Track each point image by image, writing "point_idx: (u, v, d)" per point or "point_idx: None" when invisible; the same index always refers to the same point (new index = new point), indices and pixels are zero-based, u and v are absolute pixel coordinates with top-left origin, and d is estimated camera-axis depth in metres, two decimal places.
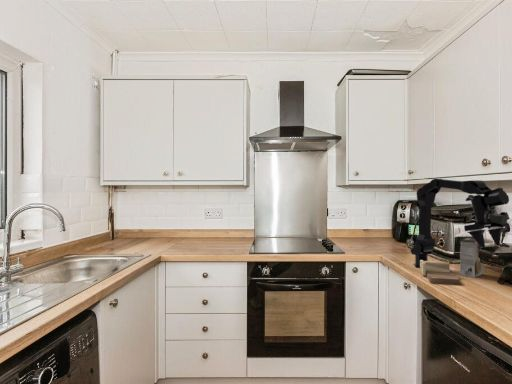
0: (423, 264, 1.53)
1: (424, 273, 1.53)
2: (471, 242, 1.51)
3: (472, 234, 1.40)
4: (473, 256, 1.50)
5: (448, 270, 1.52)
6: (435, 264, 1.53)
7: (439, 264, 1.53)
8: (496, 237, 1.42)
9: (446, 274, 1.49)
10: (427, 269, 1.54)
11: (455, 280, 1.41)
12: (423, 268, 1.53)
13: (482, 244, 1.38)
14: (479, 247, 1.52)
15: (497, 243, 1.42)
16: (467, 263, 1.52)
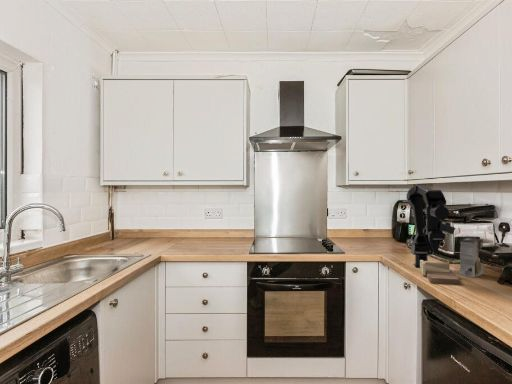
0: (423, 264, 1.53)
1: (424, 273, 1.53)
2: (471, 242, 1.51)
3: (431, 241, 1.49)
4: (473, 256, 1.50)
5: (448, 270, 1.52)
6: (435, 264, 1.53)
7: (439, 264, 1.53)
8: None
9: (446, 274, 1.49)
10: (427, 269, 1.54)
11: (455, 280, 1.41)
12: (423, 268, 1.53)
13: (435, 251, 1.50)
14: (479, 247, 1.52)
15: (431, 247, 1.59)
16: (467, 263, 1.52)
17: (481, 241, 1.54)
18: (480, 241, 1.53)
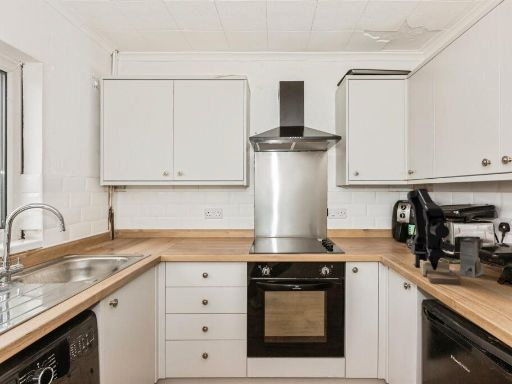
0: (423, 264, 1.53)
1: (424, 273, 1.53)
2: (471, 242, 1.51)
3: (430, 258, 1.52)
4: (473, 256, 1.50)
5: (448, 270, 1.52)
6: None
7: (439, 264, 1.53)
8: None
9: (446, 274, 1.49)
10: (427, 269, 1.55)
11: (455, 280, 1.41)
12: (423, 268, 1.53)
13: (434, 267, 1.53)
14: (479, 247, 1.52)
15: None
16: (467, 263, 1.52)
17: (481, 241, 1.54)
18: (480, 241, 1.53)
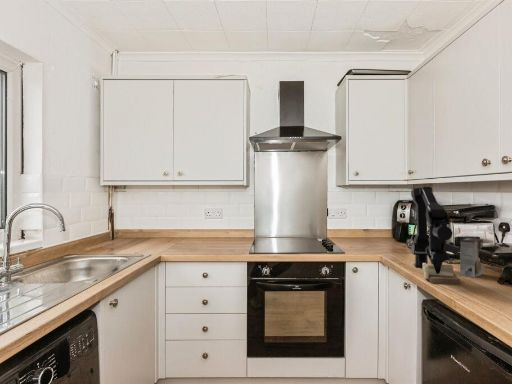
0: (426, 267, 1.47)
1: (427, 277, 1.46)
2: (471, 242, 1.51)
3: (433, 261, 1.46)
4: (473, 256, 1.50)
5: (452, 274, 1.45)
6: None
7: (442, 267, 1.46)
8: None
9: None
10: (430, 272, 1.48)
11: (455, 280, 1.41)
12: (426, 272, 1.47)
13: (438, 271, 1.46)
14: (479, 247, 1.52)
15: None
16: (467, 263, 1.52)
17: (481, 241, 1.54)
18: (480, 241, 1.53)
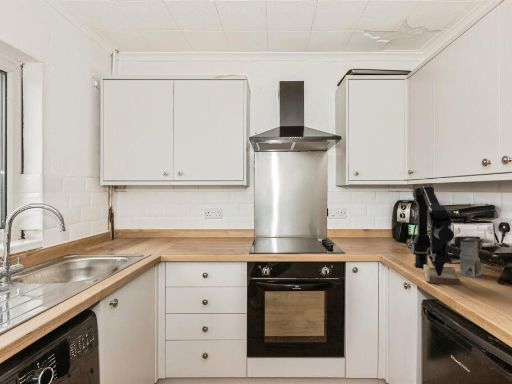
0: (427, 269, 1.44)
1: (428, 279, 1.44)
2: (471, 242, 1.51)
3: (435, 263, 1.43)
4: (473, 256, 1.50)
5: (454, 276, 1.42)
6: None
7: (444, 269, 1.43)
8: None
9: None
10: (431, 275, 1.45)
11: (455, 280, 1.41)
12: (427, 274, 1.44)
13: (439, 273, 1.44)
14: (479, 247, 1.52)
15: None
16: (467, 263, 1.52)
17: (481, 241, 1.54)
18: (480, 241, 1.53)
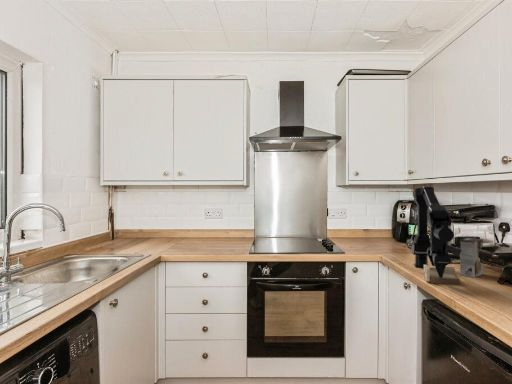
0: (427, 269, 1.44)
1: (428, 279, 1.44)
2: (471, 242, 1.51)
3: (436, 264, 1.40)
4: (473, 256, 1.50)
5: (454, 276, 1.42)
6: None
7: None
8: None
9: None
10: (431, 275, 1.45)
11: (455, 280, 1.41)
12: (427, 274, 1.44)
13: (440, 274, 1.41)
14: (479, 247, 1.52)
15: None
16: (467, 263, 1.52)
17: (481, 241, 1.54)
18: (480, 241, 1.53)
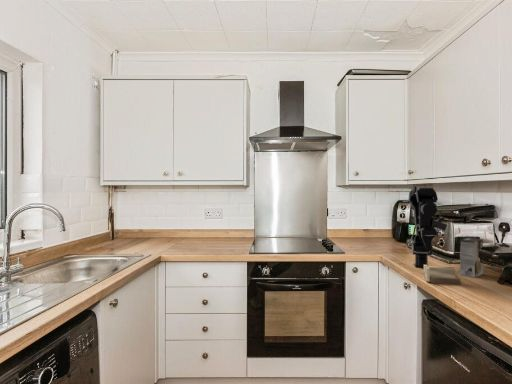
0: (427, 269, 1.44)
1: (428, 279, 1.44)
2: (471, 242, 1.51)
3: (424, 237, 1.53)
4: (473, 256, 1.50)
5: (454, 276, 1.42)
6: (440, 269, 1.44)
7: (444, 269, 1.43)
8: None
9: None
10: (431, 275, 1.45)
11: (455, 280, 1.41)
12: (427, 274, 1.44)
13: (428, 247, 1.54)
14: (479, 247, 1.52)
15: (424, 244, 1.63)
16: (467, 263, 1.52)
17: (481, 241, 1.54)
18: (480, 241, 1.53)
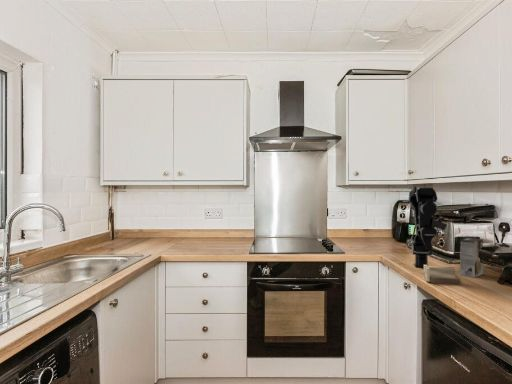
0: (427, 269, 1.44)
1: (428, 279, 1.44)
2: (471, 242, 1.51)
3: (423, 237, 1.53)
4: (473, 256, 1.50)
5: (454, 276, 1.42)
6: (440, 269, 1.44)
7: (444, 269, 1.43)
8: None
9: None
10: (431, 275, 1.45)
11: (455, 280, 1.41)
12: (427, 274, 1.44)
13: (427, 247, 1.54)
14: (479, 247, 1.52)
15: (424, 244, 1.63)
16: (467, 263, 1.52)
17: (481, 241, 1.54)
18: (480, 241, 1.53)
